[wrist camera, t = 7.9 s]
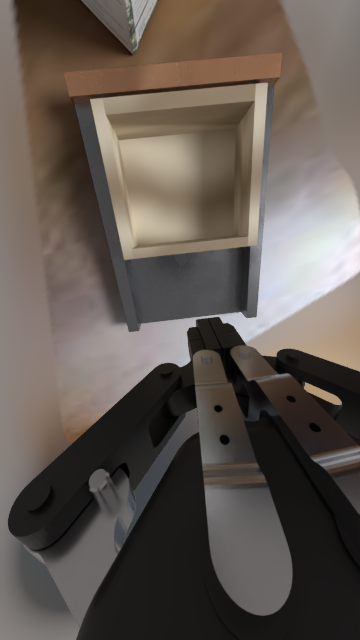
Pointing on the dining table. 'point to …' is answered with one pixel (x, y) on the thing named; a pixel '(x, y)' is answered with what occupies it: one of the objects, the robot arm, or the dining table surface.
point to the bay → (188, 268)
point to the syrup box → (124, 18)
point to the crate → (184, 167)
